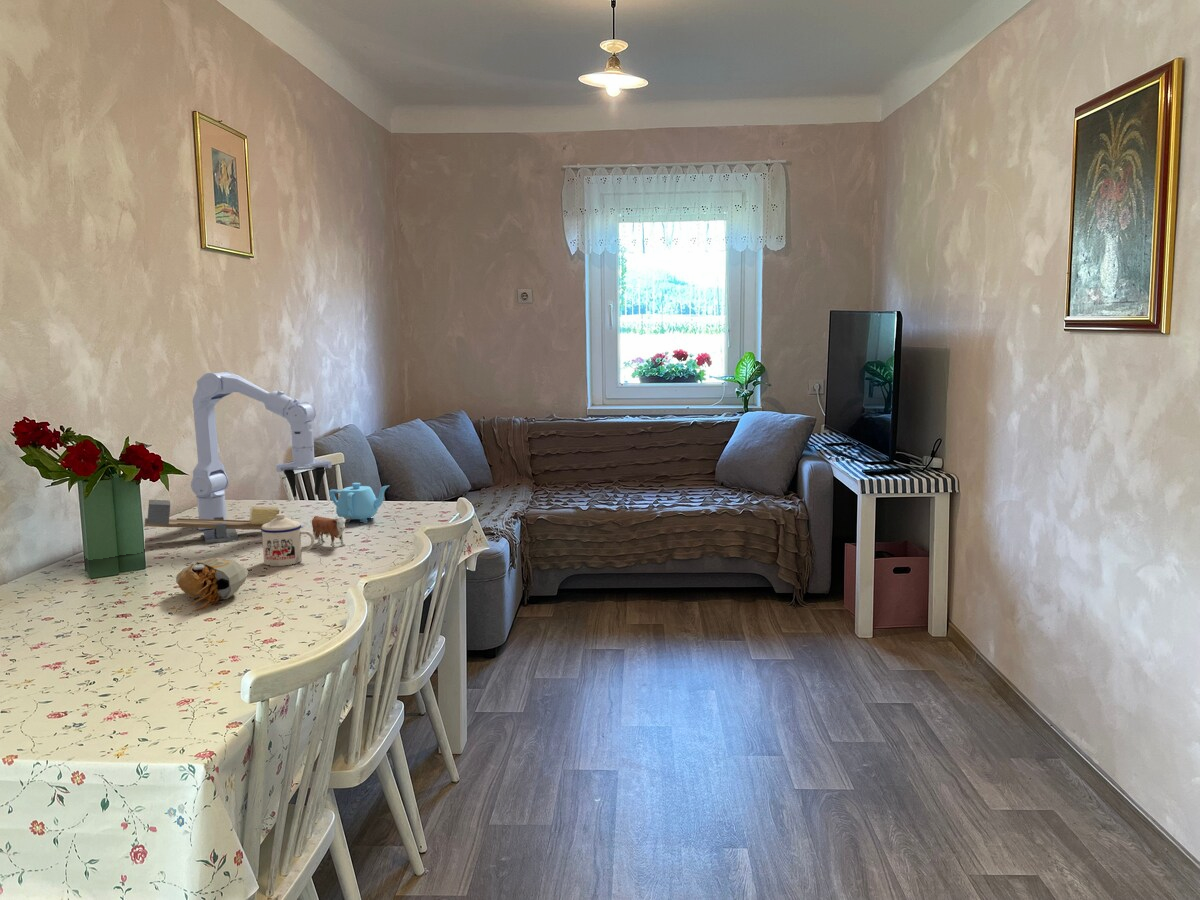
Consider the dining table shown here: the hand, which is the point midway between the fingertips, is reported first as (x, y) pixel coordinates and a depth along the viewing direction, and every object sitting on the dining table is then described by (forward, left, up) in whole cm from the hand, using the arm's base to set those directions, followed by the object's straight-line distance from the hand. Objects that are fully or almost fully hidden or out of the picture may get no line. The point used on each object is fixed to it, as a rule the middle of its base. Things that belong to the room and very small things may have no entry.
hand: (305, 495), depth 251 cm
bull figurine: (+24, +2, -10) cm, 26 cm away
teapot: (-4, +15, -10) cm, 19 cm away
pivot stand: (0, -23, -9) cm, 24 cm away
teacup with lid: (+36, -10, -10) cm, 38 cm away
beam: (0, -23, -6) cm, 23 cm away
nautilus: (+60, -29, -10) cm, 68 cm away
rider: (0, -12, -7) cm, 14 cm away
